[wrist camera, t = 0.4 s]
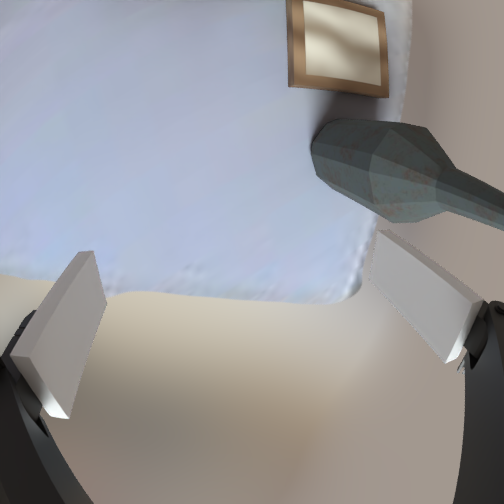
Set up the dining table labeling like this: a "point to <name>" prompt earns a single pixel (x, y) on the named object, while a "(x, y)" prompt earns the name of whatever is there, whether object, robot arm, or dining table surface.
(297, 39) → the picture frame
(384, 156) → the bottle
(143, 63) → the dining table surface
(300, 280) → the dining table surface
